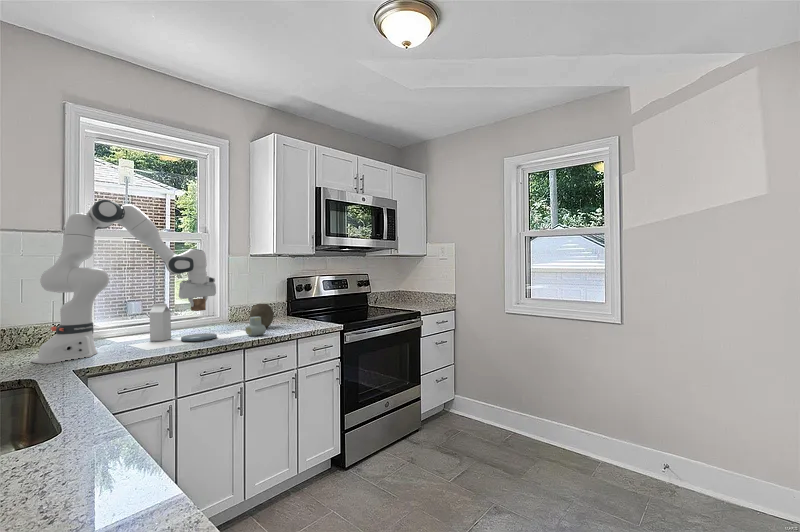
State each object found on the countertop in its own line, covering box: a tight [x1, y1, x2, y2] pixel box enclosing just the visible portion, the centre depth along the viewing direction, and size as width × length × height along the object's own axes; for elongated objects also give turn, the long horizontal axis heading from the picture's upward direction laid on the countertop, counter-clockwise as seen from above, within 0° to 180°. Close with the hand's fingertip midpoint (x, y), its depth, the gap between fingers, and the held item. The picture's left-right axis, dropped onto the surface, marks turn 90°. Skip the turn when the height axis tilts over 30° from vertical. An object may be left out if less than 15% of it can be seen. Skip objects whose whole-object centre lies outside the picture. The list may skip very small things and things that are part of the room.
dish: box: [180, 332, 217, 342], centre depth 223 cm, size 17×17×2 cm
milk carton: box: [148, 303, 172, 342], centre depth 223 cm, size 7×7×19 cm
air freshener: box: [245, 316, 267, 337], centre depth 232 cm, size 11×8×10 cm
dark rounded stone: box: [249, 303, 275, 329], centre depth 257 cm, size 14×14×15 cm
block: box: [190, 297, 207, 312], centre depth 223 cm, size 5×5×6 cm
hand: (198, 305), depth 223 cm, fingers closed on block, 5 cm apart
